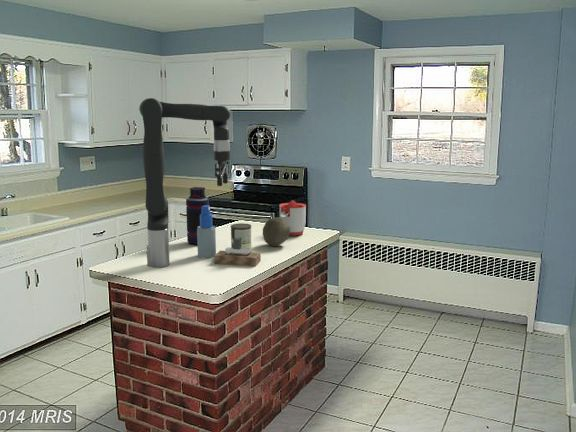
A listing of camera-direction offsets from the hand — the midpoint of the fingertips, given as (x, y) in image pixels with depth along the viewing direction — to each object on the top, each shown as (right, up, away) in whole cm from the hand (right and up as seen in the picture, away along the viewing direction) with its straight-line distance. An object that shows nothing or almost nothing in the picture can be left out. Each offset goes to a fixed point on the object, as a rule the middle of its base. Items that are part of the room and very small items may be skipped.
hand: (222, 184), depth 257 cm
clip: (+7, -37, +2) cm, 37 cm away
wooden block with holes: (+7, -37, +2) cm, 37 cm away
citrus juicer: (+33, -25, +60) cm, 73 cm away
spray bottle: (-9, -34, +13) cm, 38 cm away
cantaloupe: (+25, -31, +33) cm, 51 cm away
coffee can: (+7, -33, +19) cm, 39 cm away
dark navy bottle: (-17, -29, +39) cm, 52 cm away
